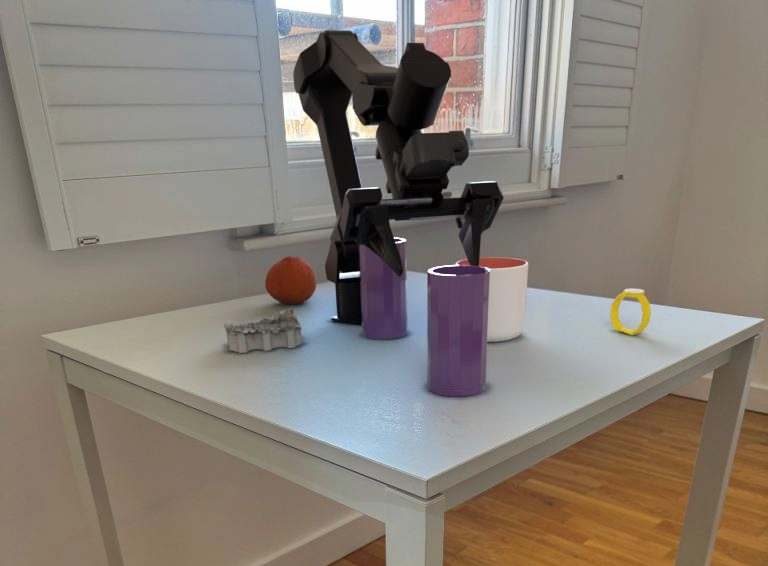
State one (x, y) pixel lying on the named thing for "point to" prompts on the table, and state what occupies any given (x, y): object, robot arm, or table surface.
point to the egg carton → (265, 333)
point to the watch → (644, 304)
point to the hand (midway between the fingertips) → (439, 270)
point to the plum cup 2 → (457, 329)
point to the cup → (505, 296)
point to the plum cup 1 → (383, 295)
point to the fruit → (291, 281)
